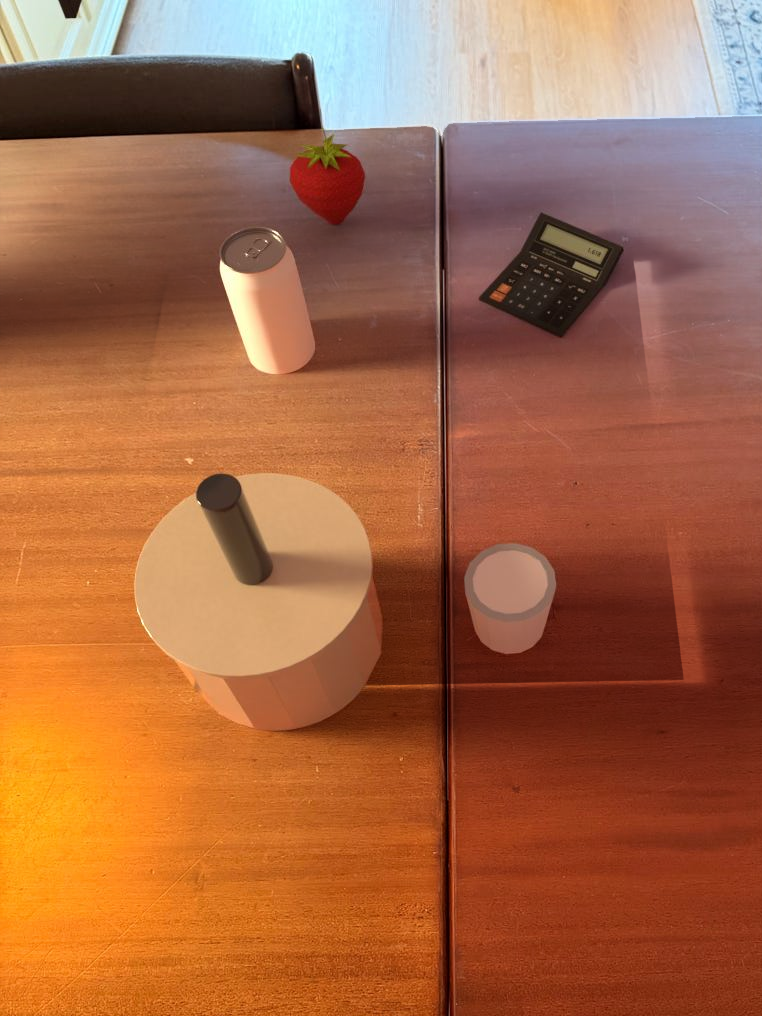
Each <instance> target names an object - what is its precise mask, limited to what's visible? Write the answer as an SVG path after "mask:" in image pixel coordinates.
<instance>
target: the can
mask: <svg viewBox="0 0 762 1016" xmlns="http://www.w3.org/2000/svg"><path fill="white" fill-rule="evenodd" d="M219 258H220V263H219V272H220V276H221V280H222V283H223V286H224V289H225V292H226V295H227V299H228V301H229V304H230V309H231V310H232V314H233V317H234V320H235V322H236V325H237V328H238V332H239V334H240V337H241V340H242V342H243V346H244V349H245V352H246V355H247V357H248V360H249V362H250V363H251V365H252V366H253V367H254V368H255V369H256V370H258V371H260V372H263V373H266V374H270V375H286V374H290V373H292V372H296V371H298V370H300V369H302V368H303V367H304V366H306V365H307V364H308V363H309V362H310V360H312V358H313V357H314V354H315V351H316V341H315V337H314V336H315V335H314V332H313V328H312V324H311V319H310V316H309V311H308V307H307V303H306V299H305V295H304V291H303V287H302V282H301V279H300V275H299V272H298V266H297V262H296V259H295V256H294V254H293V252H292V251H291V249H290V247H289V246H288V245H287V243H286V240H285V238H284V237H283V235H282V234H281V233H279V232H278V231H277V230H274V229H273V228H270V227H266V226H258V225H257V226H248V227H244V228H241V229H238V230H236V231H234V232H232V233H230V234H229V235H228V236H227V237H225V239H224V241H222V243H221V245H220V248H219Z"/></svg>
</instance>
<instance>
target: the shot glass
mask: <svg viewBox="0 0 762 1016" xmlns="http://www.w3.org/2000/svg"><path fill="white" fill-rule="evenodd" d="M463 580H464V581H463V582H464V592H465V593H464V594H465V597H466V601H467V604H468V609H469V613H470V616H471V620H472V621H471V622H472V624H473V628H474V632H475V634H476V635H477V637H478V639H479V640H480V642H481V643H482V644H483V645H484V646H486V647H487V648H488V649H490V650H491V651H494V652H496V653H501V654H503V655H510V654H521V653H522V652H525V651H527V650H529V649H531V648H533V647H534V646H535V645H536V644H537V643H538V642H539V640H540V639H541V638H542V636H543V633H544V631H545V627H546V624H547V621H548V617H549V614H550V610H551V606H552V604H553V601H554V600H553V599H554V597H555V593H556V590H557V589H556V588H557V581H556V580H557V579H556V573H555V569H554V568H553V566H552V565H551V563H550V561H549V560H548V558H547V556H545V555H544V554H542V553H541V552H539V551H538V550H536V549H535V548H534V547H532V546H529V545H524V544H521V543H516V542H509V543H496V544H494V545H492V546H490V547H488V548H486V549H483V550H481V551H480V552H479V553H477V555H476V556H474V558H473V559H472V560H471V561H470V562H469V564H468V566H467V568H466V571H465V575H464V576H463Z"/></svg>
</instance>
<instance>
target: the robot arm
mask: <svg viewBox="0 0 762 1016" xmlns="http://www.w3.org/2000/svg"><path fill="white" fill-rule="evenodd" d="M57 1H58V4H59V6H60V8H61V12H62V13H63V16H64V19H66V20H67V19H77V17H78V14H79V10H80V7H81V5H82V2H83V0H57Z"/></svg>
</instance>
